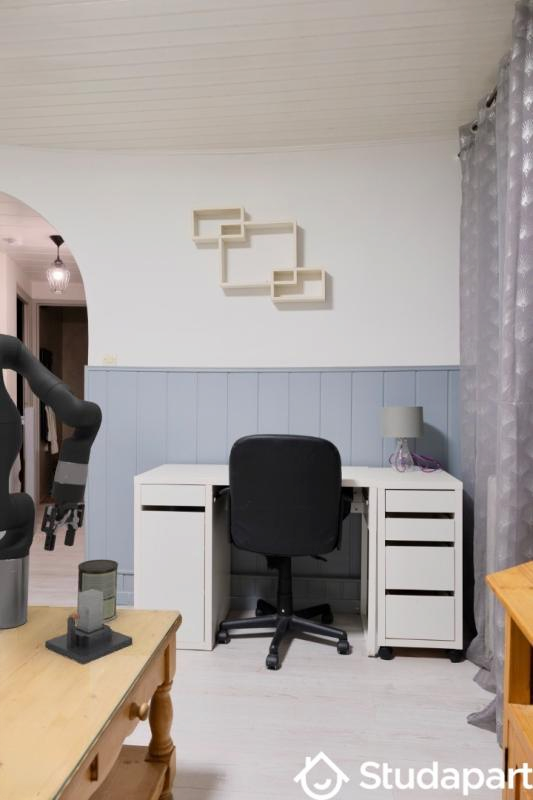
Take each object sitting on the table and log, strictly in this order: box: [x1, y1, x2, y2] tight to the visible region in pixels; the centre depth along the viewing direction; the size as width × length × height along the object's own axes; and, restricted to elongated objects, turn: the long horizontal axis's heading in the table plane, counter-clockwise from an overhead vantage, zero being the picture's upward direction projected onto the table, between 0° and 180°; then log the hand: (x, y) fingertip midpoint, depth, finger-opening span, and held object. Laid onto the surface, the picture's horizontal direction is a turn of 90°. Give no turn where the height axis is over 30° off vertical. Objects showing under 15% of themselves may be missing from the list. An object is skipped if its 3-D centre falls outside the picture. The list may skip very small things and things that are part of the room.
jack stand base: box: [44, 612, 133, 665], centre depth 135 cm, size 14×14×8 cm
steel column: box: [77, 589, 103, 634], centre depth 135 cm, size 4×4×11 cm
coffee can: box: [76, 559, 119, 624], centre depth 154 cm, size 10×10×14 cm
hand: (58, 548), depth 138 cm, fingers open, 8 cm apart
